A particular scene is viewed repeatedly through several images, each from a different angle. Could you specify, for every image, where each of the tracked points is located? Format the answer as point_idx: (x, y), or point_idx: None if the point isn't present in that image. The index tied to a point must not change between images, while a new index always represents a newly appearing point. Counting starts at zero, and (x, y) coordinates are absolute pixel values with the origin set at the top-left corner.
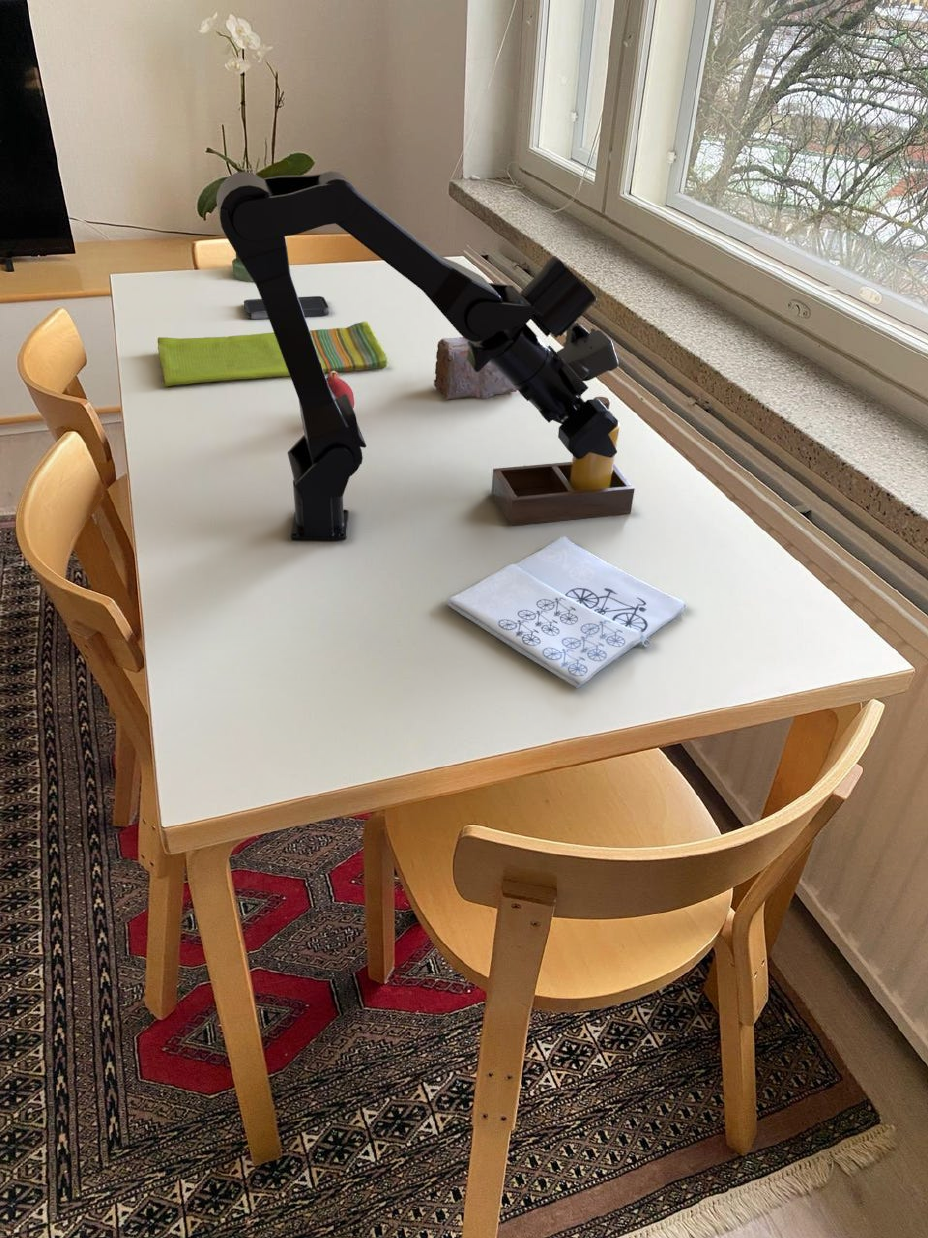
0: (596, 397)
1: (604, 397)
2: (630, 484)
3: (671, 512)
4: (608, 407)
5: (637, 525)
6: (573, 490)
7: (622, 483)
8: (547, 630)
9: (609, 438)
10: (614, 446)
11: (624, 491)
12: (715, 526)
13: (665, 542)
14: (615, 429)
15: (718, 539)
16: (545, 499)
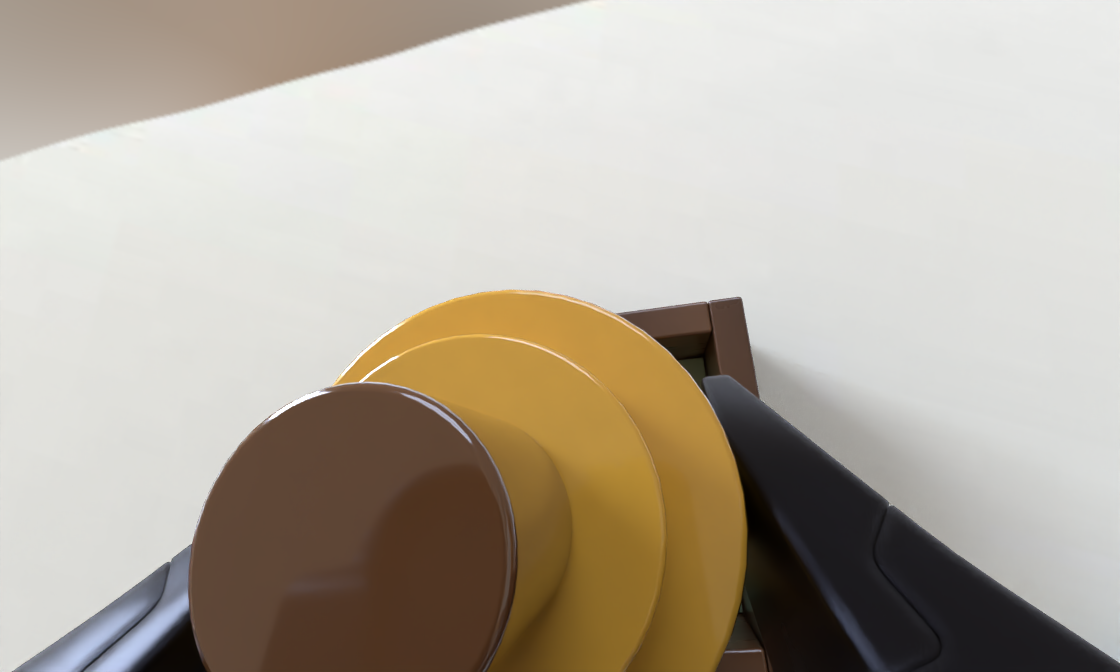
0: (218, 637)
1: (253, 458)
2: (696, 307)
3: (718, 170)
4: (500, 430)
5: (825, 328)
6: (755, 657)
7: (662, 341)
8: None
9: (865, 490)
10: (765, 406)
11: (751, 353)
12: (832, 40)
13: (972, 250)
14: (675, 367)
15: (936, 49)
16: None
